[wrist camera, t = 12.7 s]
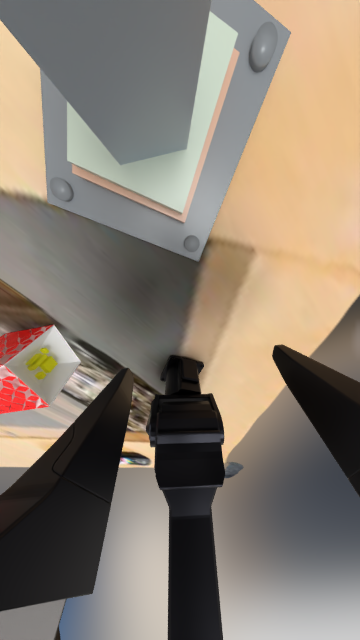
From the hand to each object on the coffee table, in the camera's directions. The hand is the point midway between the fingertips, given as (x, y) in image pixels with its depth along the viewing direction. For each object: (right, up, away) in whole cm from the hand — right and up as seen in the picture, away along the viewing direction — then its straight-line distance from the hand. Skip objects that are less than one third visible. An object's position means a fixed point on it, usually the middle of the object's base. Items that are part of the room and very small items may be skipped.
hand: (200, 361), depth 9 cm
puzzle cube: (-23, -2, +16) cm, 28 cm away
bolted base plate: (-4, +19, +4) cm, 19 cm away
